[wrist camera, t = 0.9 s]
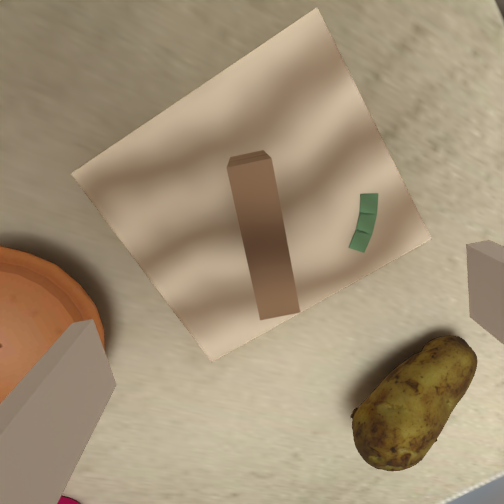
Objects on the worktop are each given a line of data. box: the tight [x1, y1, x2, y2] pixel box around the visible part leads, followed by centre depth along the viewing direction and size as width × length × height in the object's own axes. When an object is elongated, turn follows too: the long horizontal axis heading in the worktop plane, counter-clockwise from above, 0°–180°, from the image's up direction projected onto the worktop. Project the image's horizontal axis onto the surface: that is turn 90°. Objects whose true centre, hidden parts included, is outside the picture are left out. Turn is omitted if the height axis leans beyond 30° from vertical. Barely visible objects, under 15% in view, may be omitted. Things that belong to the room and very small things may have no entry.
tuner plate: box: [71, 8, 432, 362], centre depth 33 cm, size 20×22×2 cm
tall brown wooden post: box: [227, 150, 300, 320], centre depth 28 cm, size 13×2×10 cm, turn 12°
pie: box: [0, 246, 105, 404], centre depth 34 cm, size 15×16×5 cm
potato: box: [350, 336, 477, 471], centre depth 35 cm, size 8×13×8 cm, turn 114°
